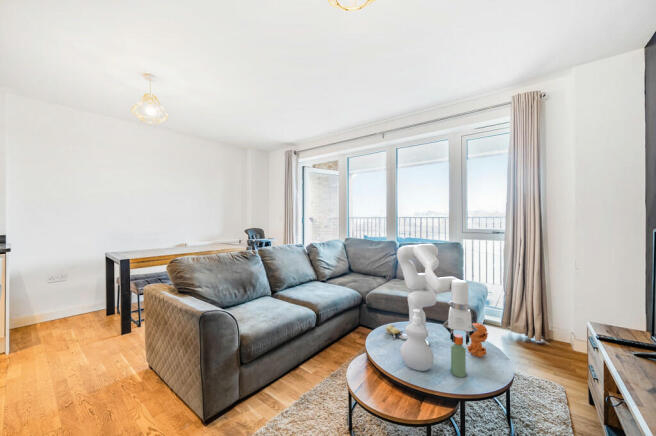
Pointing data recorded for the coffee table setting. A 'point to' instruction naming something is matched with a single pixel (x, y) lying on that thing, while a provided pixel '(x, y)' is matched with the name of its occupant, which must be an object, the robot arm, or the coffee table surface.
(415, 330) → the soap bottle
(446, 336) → the coffee table surface
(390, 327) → the figurine
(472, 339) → the orange sculpture
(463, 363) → the bottle
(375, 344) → the coffee table surface
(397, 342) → the coffee table surface
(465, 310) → the robot arm
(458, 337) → the cap
